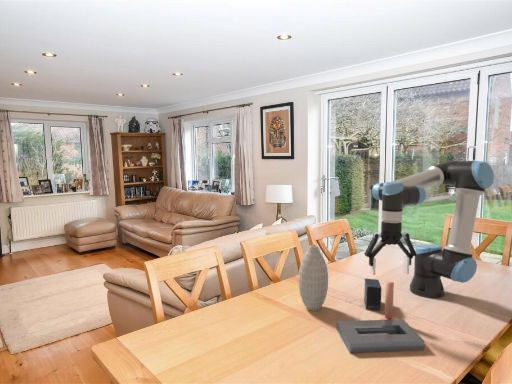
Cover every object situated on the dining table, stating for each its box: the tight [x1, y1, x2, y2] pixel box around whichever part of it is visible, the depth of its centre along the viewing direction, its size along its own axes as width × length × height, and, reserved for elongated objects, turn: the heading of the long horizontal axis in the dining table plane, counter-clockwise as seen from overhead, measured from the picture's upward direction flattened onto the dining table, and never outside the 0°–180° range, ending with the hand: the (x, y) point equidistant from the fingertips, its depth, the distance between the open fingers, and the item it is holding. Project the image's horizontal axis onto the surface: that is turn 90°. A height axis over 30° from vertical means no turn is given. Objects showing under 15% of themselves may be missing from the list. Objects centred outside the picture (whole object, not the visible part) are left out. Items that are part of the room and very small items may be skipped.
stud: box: [381, 281, 396, 320], centre depth 143 cm, size 5×5×16 cm
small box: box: [363, 278, 382, 311], centre depth 158 cm, size 11×6×10 cm, turn 168°
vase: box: [298, 244, 329, 312], centre depth 155 cm, size 13×13×28 cm
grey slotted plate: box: [336, 318, 425, 354], centre depth 129 cm, size 26×16×4 cm, turn 93°
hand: (389, 273), depth 142 cm, fingers open, 13 cm apart
